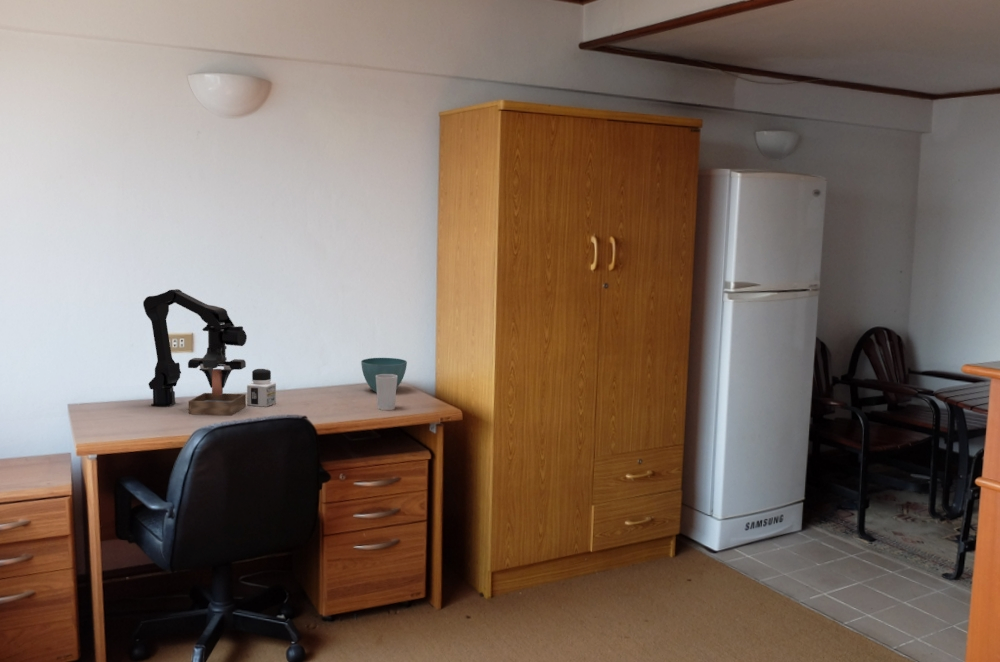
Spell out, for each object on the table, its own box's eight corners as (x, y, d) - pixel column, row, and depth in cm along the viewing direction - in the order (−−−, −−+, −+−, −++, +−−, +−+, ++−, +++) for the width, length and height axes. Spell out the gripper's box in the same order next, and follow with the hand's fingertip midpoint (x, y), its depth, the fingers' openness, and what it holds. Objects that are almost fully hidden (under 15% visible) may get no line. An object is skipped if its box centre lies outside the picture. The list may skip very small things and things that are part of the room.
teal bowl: (414, 389, 351) (415, 360, 350) (391, 397, 335) (391, 366, 333) (376, 385, 358) (377, 356, 357) (352, 392, 342) (352, 362, 340)
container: (266, 407, 311) (266, 371, 310) (246, 405, 313) (246, 370, 311) (276, 402, 319) (276, 368, 317) (257, 401, 320) (256, 367, 319)
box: (188, 413, 297) (188, 401, 296) (204, 404, 312) (204, 392, 311) (231, 415, 296) (231, 402, 296) (245, 406, 311) (245, 394, 311)
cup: (401, 407, 317) (401, 375, 315) (389, 411, 309) (390, 378, 308) (382, 405, 320) (383, 373, 318) (370, 408, 313) (371, 376, 311)
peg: (210, 395, 302) (210, 370, 300) (214, 393, 305) (213, 368, 304) (220, 396, 302) (220, 370, 300) (224, 394, 305) (224, 369, 304)
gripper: (181, 346, 293) (182, 391, 295) (235, 348, 293) (236, 393, 295) (193, 342, 304) (194, 385, 306) (246, 343, 304) (246, 387, 306)
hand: (217, 387), depth 303 cm, fingers closed on peg, 4 cm apart
